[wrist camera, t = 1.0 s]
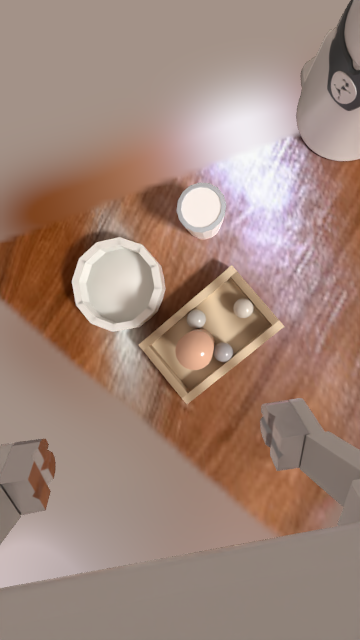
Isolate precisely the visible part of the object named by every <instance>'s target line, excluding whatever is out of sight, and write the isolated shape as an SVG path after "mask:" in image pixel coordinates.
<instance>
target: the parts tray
mask: <svg viewBox="0 0 360 640" xmlns="http://www.w3.org/2000/svg"><path fill="white" fill-rule="evenodd" d="M243 298H244V299H248V300H250V301H251V302H252V304H253V312H252V314H251V315H250V316H249V317H247V318H240V317H238V316H236V315H235V313H234V310H233V307H234V304H235V302H236V301H237V300H239V299H243ZM195 309H198V310H201V311H202V312H203V313H204V314H205V316H206V322H205V324H204V326H202V327H201V328H203V329H206V330H208V331H209V332H210V333H211V334H212V335H213V337H214V340H215V346H216V345H217V344H218V343H221V342H225V343H228V344H229V345H230V346H231V347H232V349H233V355H232V357H231V359H230V360H228V361H226V362H221V361H218V360H217V359H216V358H215V357H214V354H213V355H212V358H211V361H210V362H209V364H208V365H207V366H205V367H204V368H202V369H199V370H190V369H187V368H185V367H183V366H182V365H181V364H180V363H179V361H178V360H177V357H176V353H175V349H176V345H177V343H178V341H179V340H180V338H181V337H183V336H184V335H186V334H187V333H189V332H190V331H191V330H193V329H194V328H192V327H190V326H189V325H188V323H187V315H188V313H189V312H190V311H192V310H195ZM283 327H284V326H283V324H282V323H281V322H280V321H279V320H278V319H277V317H276V316H275V315H274V314H273V313H272V312H271V310H270V309H269V308H268V307H267V306H266V305H265V303H264V302H263V301H262V300H261V299H260V298H259V297H258V295H257V294H256V293H255V292H254V291H253V290H252V288H251V287H250V286H249V285H248V284H247V283H246V281H245V280H244V279H243V278H242V277H241V276H240V274H239V273H238V272H237V271H236V270H235V269H234V267H233V266H232V265H231V266H230V267H229V268H228V269H227V270H226V271H224V272H223V273H222V274H221V275H220V276H219V277H217V278H216V279H215V280H214V281H213V282H212V283H210V284H209V285H208V286H207V287H206V288H205V289H203V290H202V291H201V292H200V293H199V294H197V295H196V296H195V297H194V298H193V299H192V300H190V301H189V302H188V303H187V304H186V305H185V306H183V307H182V308H181V309H180V310H179V311H178V312H176V313H175V314H174V315H173V316H172V317H171V318H169V319H168V320H167V321H166V322H165V323H164V324H162V325H161V326H160V327H159V328H158V329H156V330H155V331H154V332H153V333H152V334H151V335H149V336H148V337H147V338H146V339H145V340H144V341H142V342H141V343H140V344H139V346H140V348H141V349H142V350H143V351H144V353H145V354H146V355H147V356H148V357H149V359H150V360H151V361H152V362H153V364H154V365H155V366H156V367H157V368H158V370H159V371H160V372H161V373H162V375H163V376H164V377H165V378H166V379H167V381H168V382H169V383H170V384H171V386H172V387H173V388H174V389H175V390H176V392H177V393H178V394H179V395H180V397H181V398H182V399H183V400H184V401H185V403H186V404H188V403H189V402H190V401H192V400H193V399H194V398H195V397H197V396H198V395H199V394H200V393H202V392H203V391H204V390H205V389H207V388H208V387H209V386H210V385H212V384H213V383H214V382H216V381H217V380H218V379H219V378H221V377H222V376H223V375H224V374H226V373H227V372H228V371H229V370H231V369H232V368H233V367H234V366H236V365H237V364H238V363H239V362H241V361H242V360H243V359H244V358H246V357H247V356H248V355H249V354H251V353H252V352H253V351H254V350H256V349H257V348H258V347H259V346H261V345H262V344H263V343H264V342H266V341H267V340H268V339H269V338H271V337H272V336H273V335H274V334H276V333H277V332H278V331H279V330H281V329H282V328H283ZM215 346H214V347H215Z"/></svg>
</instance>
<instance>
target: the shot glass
mask: <svg viewBox="0 0 360 640" xmlns="http://www.w3.org/2000/svg"><path fill="white" fill-rule="evenodd" d="M225 210H226V202H225V199H224V195H223V194H222V193H221V191H220V190H219V189H218V188H217V187H215V186H213V185H211V184H209V183H197V184H194V185H191V186H189V187H188V188H187V189H186V190H185V191H183V192H182V194H181V196H180V198H179V200H178V204H177V214H178V217H179V220H180V221H181V223H182V224H183V225H184V227H185V228H186V229H187V230H188V231H189V232H190V233H191V234H192V235H193V236H194V237H196V238H198V239H208V238H211V237H213V236H214V235H215V234H217V233H218V231H219V229H220V227H221V225H222V222H223V219H224V216H225Z"/></svg>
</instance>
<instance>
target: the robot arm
mask: <svg viewBox="0 0 360 640" xmlns="http://www.w3.org/2000/svg"><path fill="white" fill-rule="evenodd" d="M301 86H302V92H301V96H300V99H299V103H298V106H297V116H296V118H297V126H298V130H299V133H300V135H301V137H302V139H303V140H304V142H305V143H306V144H307V146H308V147H309V148H310V149H311V150H313V151H314V152H315V153H317V154H318V155H320V156H322V157H325V158H327V159H331V160H336V161H351V160H356V159H360V0H351V1H350V2H349V4H348V6H347V8H346V9H345V11H344V13H343V14H342V16H341V19H340V20H339V23H338V25H337V27H336V28H334V29H333V30H329V32H328V33H327V34H326V36H325V38H324V40H323V42H322V44H321V46H320V49H319V51H318V53H317V55H316V56H315V57H314V58H312V59H311V60H309V61H308V62H307V63H306V64H305V65H304V67H303V69H302V71H301ZM261 412H262V414H263V417H262V418H261V422H260V426H261V433H262V436H263V439H264V442H265V444H266V445H267V446H269V447H270V448H271V450H270V456H271V458H272V460H273V463H274V465H275V467H276V469H277V471H280V470H287V469H294V468H300V470H302V471H303V472H304V473H305V474H306V475H307V476H308V477H310V478H311V479H312V480H313V481H314V482H315V483H316V484H318V485H319V486H320V487H321V488H322V489H323V490H324V491H326V492H327V493H328V494H329V495H330V496H331V497H333V498H334V499H335V500H336V501H337V502H338V503H339V504H341V505H342V506H343V510H342V513H341V515H340V518H339V521H338V526H336V527H330V528H325V529H319V530H314V531H308V532H303V533H298V534H292V535H287V536H281V537H276V538H270V539H265V540H260V541H254V542H249V543H243V544H238V545H232V546H227V547H221V548H216V549H210V550H205V551H200V552H194V553H189V554H184V555H178V556H172V557H167V558H162V559H156V560H151V561H145V562H140V563H135V564H129V565H124V566H118V567H113V568H107V569H102V570H97V571H91V572H86V573H80V574H75V575H70V576H64V577H59V578H54V579H48V580H43V581H37V582H32V583H26V584H21V585H15V586H10V587H5V588H0V640H360V450H359V449H357V448H356V447H354V446H352V445H351V444H349V443H347V442H346V441H344V440H342V439H341V438H339V437H337V436H336V435H334V434H332V433H331V432H329V431H327V432H325V431H324V430H323V428H322V427H321V425H320V424H319V422H318V421H317V419H316V418H315V416H314V415H313V413H312V412H311V410H310V409H309V407H308V406H307V404H306V403H305V401H304V400H303V399H302V398H298V399H291V400H284V401H278V402H272V403H266V404H263V405H262V408H261ZM48 445H49V444H48V443H47V441H46V439H38V440H30V441H23V442H15V443H8V444H1V446H0V544H1V543H2V541H3V540H4V539H5V538H6V536H7V535H8V533H9V532H10V531H11V529H12V528H13V527H14V525H15V524H16V523H17V521H18V520H19V519H20V517H21V516H20V515H24V514H30V513H34V512H39V511H45V510H46V507H47V503H48V499H49V495H50V489H49V488H48V485H49V484H50V482H51V481H52V480H53V479H54V474H55V458H54V455H53V453H52V452H51V451H49V450H47V449H48Z"/></svg>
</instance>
